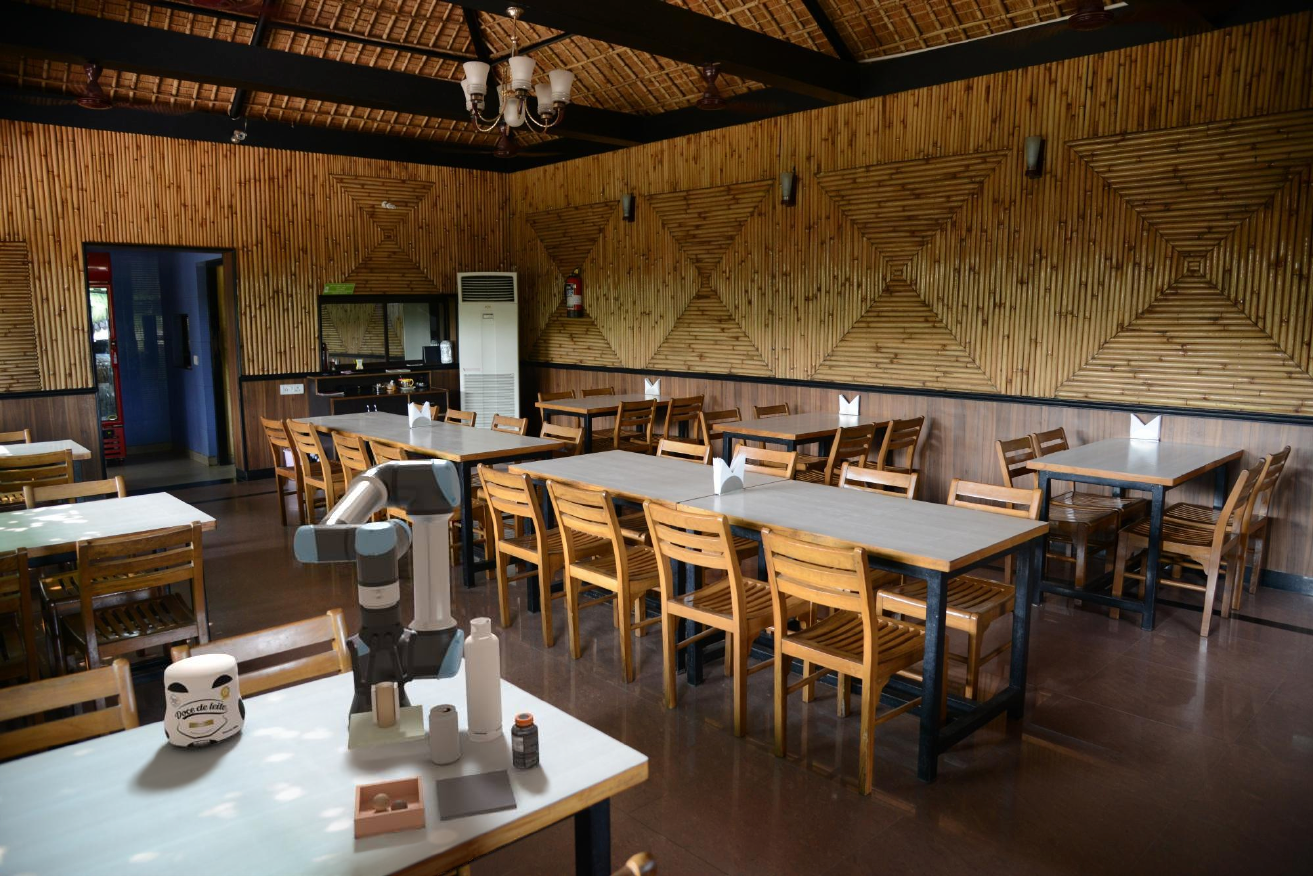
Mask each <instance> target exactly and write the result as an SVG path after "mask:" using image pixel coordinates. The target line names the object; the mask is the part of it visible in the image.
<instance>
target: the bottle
mask: <svg viewBox="0 0 1313 876" xmlns="http://www.w3.org/2000/svg"><path fill="white" fill-rule="evenodd" d="M491 620H492V619H490V618H489V617H476V618H473V619H471V620H470V622H469V624H470V635H468V636H467V638H465V639H464V648H463V653H464V669H465V670H464V673H465V691H466V692H465V694H466V695H465V696H466V697H465V698H466V714H467V717H466V718H467V735H468V738H469V739H470V740H471V741H474V742H481V743H482V742H489V741H493V740H496V739H498V738H499V737H501V736H502V734H503V710H502V690H501V687H502V685H501V683H502V682H501V663H500V662H501V660H500V640H499V638H498V636H496V635H495V634H493V633H492V624H491V623H492V621H491Z"/></svg>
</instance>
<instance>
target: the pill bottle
mask: <svg viewBox="0 0 1313 876" xmlns="http://www.w3.org/2000/svg"><path fill="white" fill-rule="evenodd" d="M534 720H535V719H534V715H533V713H529V712H521V713H519V714H516V715H515V717H514V724H512V725H511V728H510V733H511V737H510V738H511V755H512V756H511V760H512V766H513V768H514V769H516V770H521V771H528V770H532V769H535V768H536V767H537V766H538V765H539V764H540V748H539V747H540V746H539V745H540V744H539V743H540V740H539V728H538V724H537V723H535V722H534Z"/></svg>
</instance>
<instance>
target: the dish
mask: <svg viewBox="0 0 1313 876" xmlns="http://www.w3.org/2000/svg"><path fill="white" fill-rule="evenodd" d="M423 788H424V787H423V776H422V775H418V776H411V777H406V778H405V777H404V778H398V779H391V780H386V781H378V782H374V783H367V784H361V785H360V784H359V785H356V786H355V795H354V796H355V797H354V798H355V799H354V800H355V801H354V811H353V812H354V815H353V826H354V839H355V840H358V839H364V838H370V837H375V836H382V835H387V834H391V833H399V832H404V831H410V830H415V829H421V828H426V815H425V813H426V812H425V799H424V789H423ZM378 794H385V795H387V796H388V798H389V805H388V807H387V808H386V809H385V810H382V811H378V810H376V809H375V808H374V807H373V799H374V798H375V796H377V795H378ZM399 799H401V800H404V801H405V802H406V803H407V805H408V808H407V809H401V810H395V811H391V806H392V804H393V803H394V802H395V801H396V800H399Z"/></svg>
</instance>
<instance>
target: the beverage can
mask: <svg viewBox="0 0 1313 876" xmlns="http://www.w3.org/2000/svg"><path fill="white" fill-rule="evenodd" d="M458 715H459V714H458V711H457V709H456V706H455V705H453V704H448V703H444V704H438V705H435V706H433V707H431V708H430V710H429V714H428V730H429V731H428V734H429V749H430V750H429V753H430V760H431V762H433V763H434V764H436V765H440V766H446V765H450V764H453V763H455V762H456V761H457V760H458V759H459V758H460V755H461V753H460V751H461V750H460V733H459V716H458Z"/></svg>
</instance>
